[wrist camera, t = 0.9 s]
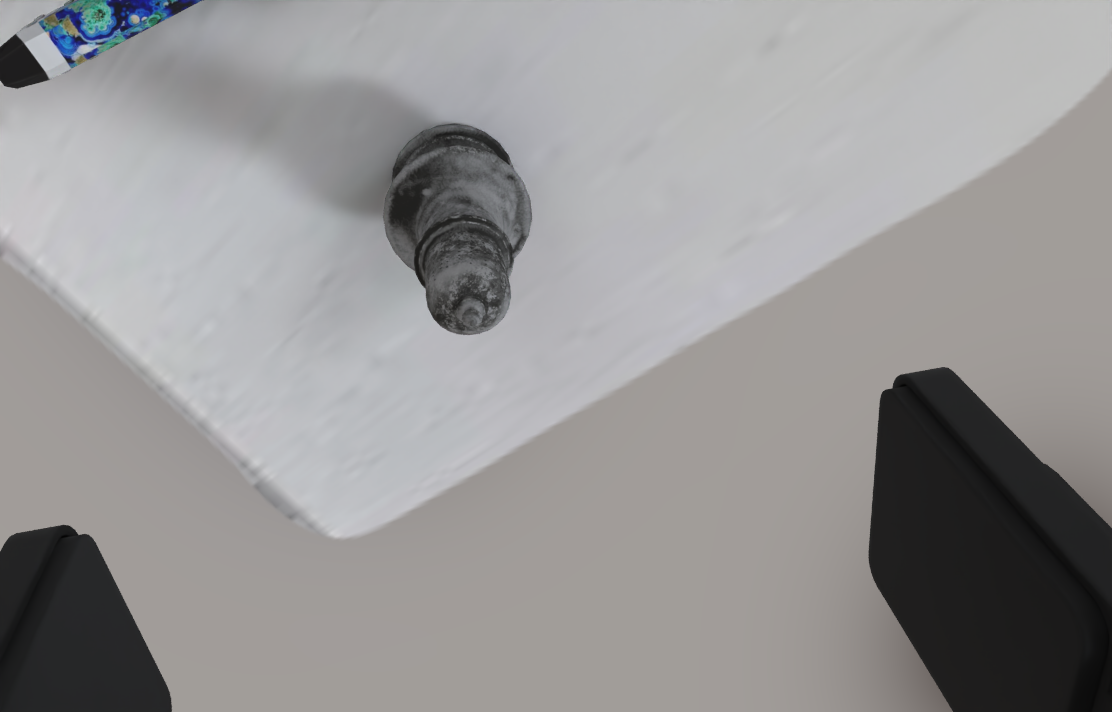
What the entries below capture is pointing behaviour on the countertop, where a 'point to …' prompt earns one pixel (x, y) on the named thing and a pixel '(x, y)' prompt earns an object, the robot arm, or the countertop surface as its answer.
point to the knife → (77, 36)
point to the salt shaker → (458, 223)
